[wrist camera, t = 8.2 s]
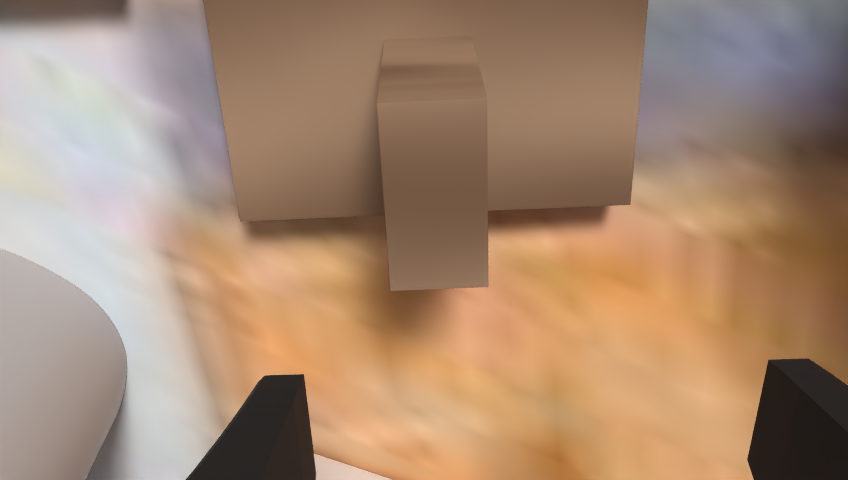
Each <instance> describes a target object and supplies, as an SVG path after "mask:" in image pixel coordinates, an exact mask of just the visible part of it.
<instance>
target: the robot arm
mask: <svg viewBox="0 0 848 480" xmlns="http://www.w3.org/2000/svg"><path fill="white" fill-rule="evenodd" d="M747 460H748V463H749V466H750V469H751V472H752V475H753V478H754V480H848V386H847V385H846V384H845V383H843V382H842V381H840V380H839V379H838V378H836V377H835V376H833V375H832V374H831V373H829V372H828V371H826V370H825V369H823V368H822V367H820V366H819V365H817V364H816V363H814V362H813V361H811V360H809V359H781V360H768V365H767V370H766V374H765V379H764V384H763V388H762V393H761V398H760V403H759V407H758V412H757V417H756V422H755V426H754V431H753V436H752V440H751V445H750V450H749V455H748V459H747ZM186 480H316V468H315V460H314V452H313V444H312V436H311V428H310V420H309V412H308V404H307V396H306V388H305V380H304V374H301V375H269V376H264V377H263V378H262V379H261V380H260V381H259V382H258V383H257V385H256V386H255V388H254V389H253V391H252V392H251V394H250V395H249V396H248V398H247V399H246V401H245V402H244V404H243V405H242V407H241V408H240V410H239V411H238V412H237V414H236V415H235V417H234V418H233V419H232V421H231V422H230V423H229V425H228V426H227V428H226V429H225V430H224V432H223V433H222V434H221V436H220V437H219V438H218V440H217V441H216V442H215V444H214V445H213V446H212V447H211V449H210V450H209V451H208V453H207V454H206V455H205V456H204V458H203V459H202V460H201V462H200V463H199V464H198V465H197V467H196V468H195V469H194V470H193V472H192V473H191V474H190V475H189V476H188V478H187V479H186Z"/></svg>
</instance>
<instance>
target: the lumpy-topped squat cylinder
mask: <svg viewBox="0 0 848 480" xmlns="http://www.w3.org/2000/svg"><path fill="white" fill-rule="evenodd" d="M126 378H127V357H126V351H125V347H124V344H123V341H122V339H121V337H120V334H119V332H118V330H117V329H116V327H115V325H114V324H113V322H112V321H111V319H110V318H109V316H108V315H107V314H106V313H105V311H104V310H103V309H102V308H101V307H100V306H99V305H98V304H97V303H96V302H95V301H94V300H93V299H92V298H91V297H90V296H88V295H87V294H86V293H85V292H83V291H82V290H81V289H79V288H78V287H76V286H75V285H74V284H72V283H70V282H69V281H67V280H66V279H64V278H62V277H61V276H59V275H57V274H55V273H54V272H52V271H50V270H48V269H46V268H44V267H42V266H40V265H38V264H36V263H34V262H32V261H30V260H28V259H26V258H23V257H21V256H19V255H16V254H14V253H11V252H9V251H6V250H3V249H0V480H86V478H87V476H88V474H89V472H90V469H91V467H92V465H93V463H94V461H95V459H96V457H97V455H98V453H99V451H100V449H101V447H102V445H103V443H104V441H105V439H106V437H107V434H108V432H109V430H110V428H111V426H112V424H113V422H114V420H115V418H116V416H117V414H118V411H119V408H120V405H121V402H122V398H123V395H124V390H125V385H126Z"/></svg>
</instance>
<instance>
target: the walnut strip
mask: <svg viewBox="0 0 848 480" xmlns="http://www.w3.org/2000/svg"><path fill="white" fill-rule="evenodd" d="M203 2H204V8H205V14H206V20H207V26H208V32H209V38H210V44H211V50H212V56H213V62H214V68H215V74H216V80H217V86H218V92H219V98H220V104H221V110H222V116H223V122H224V128H225V134H226V140H227V146H228V152H229V158H230V164H231V170H232V175H233V181H234V187H235V193H236V199H237V205H238V211H239V217H240V222H241V221H264V220H287V219H310V218H334V217H357V216H380V215H385V223H386V237H387V251H388V265H389V278H390V291H403V290H427V289H451V288H474V287H488V211H496V210H519V209H542V208H566V207H589V206H612V205H630V202H631V191H632V179H633V168H634V156H635V145H636V134H637V122H638V111H639V99H640V88H641V76H642V65H643V54H644V42H645V31H646V19H647V8H648V0H203Z"/></svg>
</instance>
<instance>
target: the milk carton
mask: <svg viewBox="0 0 848 480" xmlns="http://www.w3.org/2000/svg"><path fill="white" fill-rule="evenodd" d="M314 460H315V468H316V480H393V479H390V478H387V477H384V476H381V475H378V474H375V473H372V472H369V471H366V470H363V469H360V468H357V467H354V466H351V465H348V464H345V463H342V462H339V461H336V460H333V459H330V458H327V457H324V456H321V455H318V454H315V453H314Z"/></svg>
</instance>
